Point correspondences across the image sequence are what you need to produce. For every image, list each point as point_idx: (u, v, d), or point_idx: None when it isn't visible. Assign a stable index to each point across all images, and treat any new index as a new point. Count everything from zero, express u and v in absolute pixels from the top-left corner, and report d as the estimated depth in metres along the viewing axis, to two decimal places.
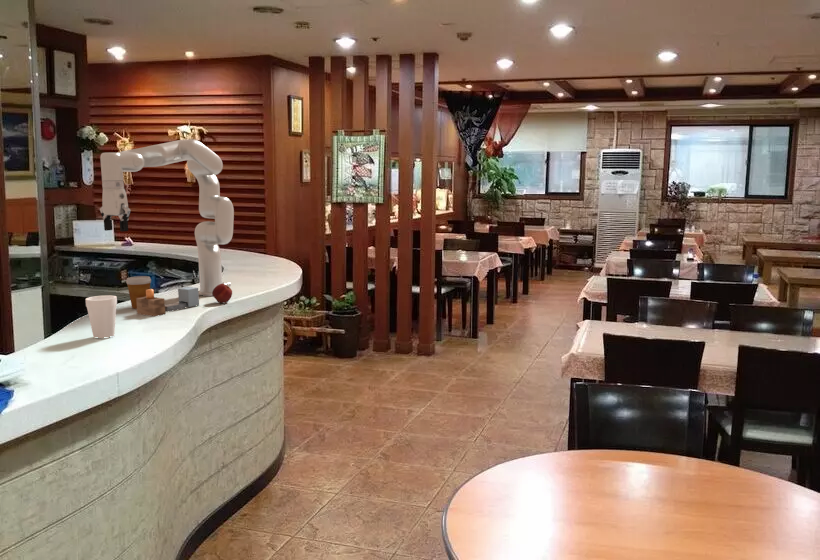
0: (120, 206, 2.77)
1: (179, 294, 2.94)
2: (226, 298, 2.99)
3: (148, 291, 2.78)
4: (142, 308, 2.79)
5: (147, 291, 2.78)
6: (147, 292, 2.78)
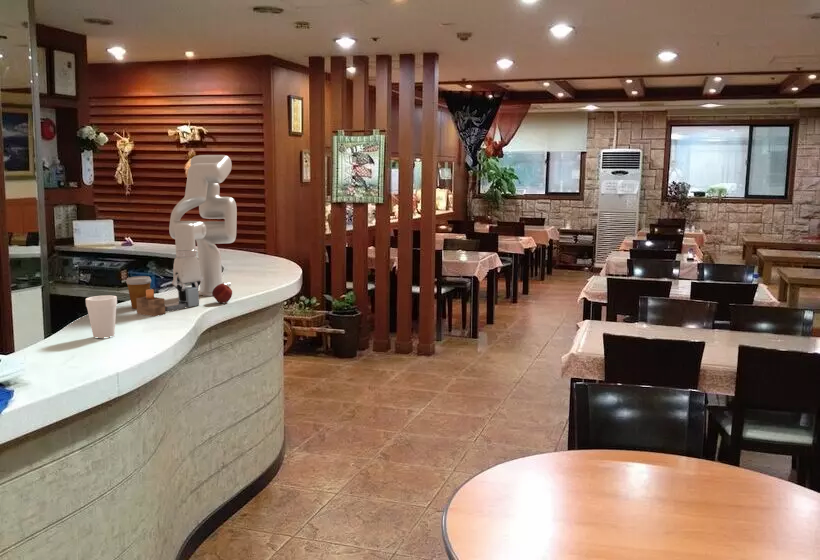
0: None
1: None
2: (226, 298, 2.99)
3: (148, 291, 2.78)
4: (142, 308, 2.79)
5: (147, 291, 2.78)
6: (147, 292, 2.78)
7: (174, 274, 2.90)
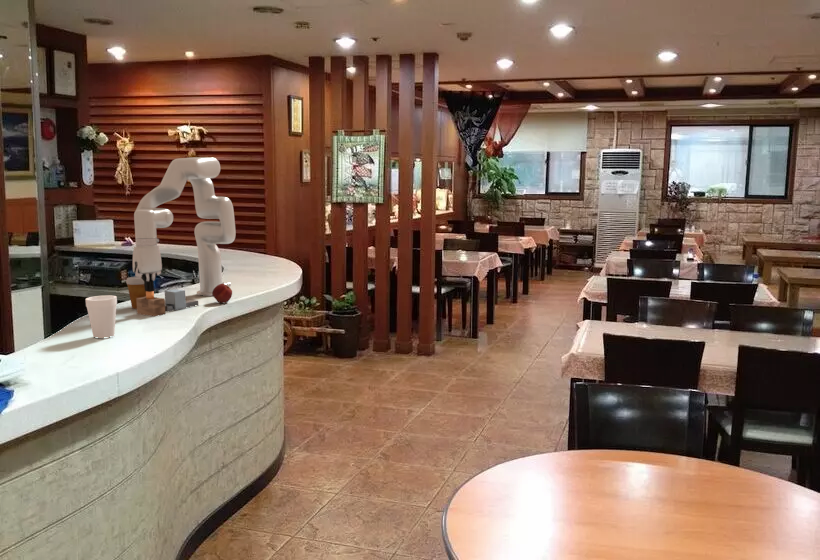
0: None
1: (165, 296, 2.88)
2: (226, 298, 2.99)
3: (148, 292, 2.78)
4: (142, 308, 2.79)
5: (147, 292, 2.78)
6: (147, 293, 2.78)
7: (133, 263, 2.74)
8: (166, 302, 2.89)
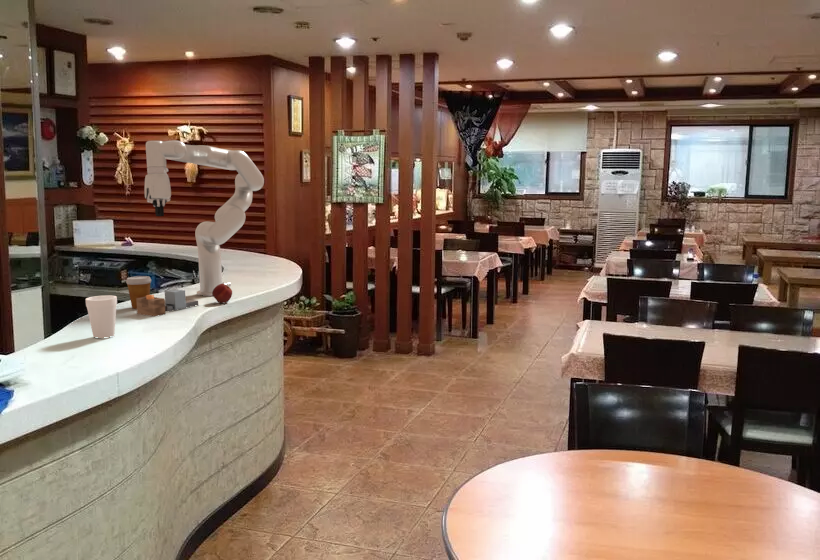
0: None
1: (165, 296, 2.88)
2: (226, 298, 2.99)
3: (148, 297, 2.78)
4: (142, 308, 2.79)
5: (147, 297, 2.78)
6: (147, 298, 2.78)
7: (145, 190, 3.01)
8: (166, 302, 2.89)
